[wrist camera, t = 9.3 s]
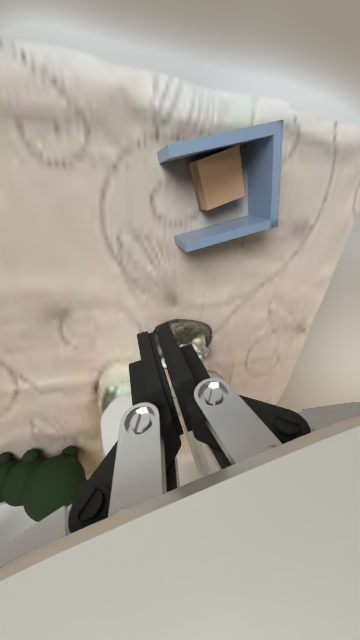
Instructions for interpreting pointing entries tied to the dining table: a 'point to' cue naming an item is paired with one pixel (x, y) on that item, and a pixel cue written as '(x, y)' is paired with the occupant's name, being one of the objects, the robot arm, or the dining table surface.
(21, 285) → the dining table surface
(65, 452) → the toy figurine
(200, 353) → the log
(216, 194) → the cardboard shipping box
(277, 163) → the box
